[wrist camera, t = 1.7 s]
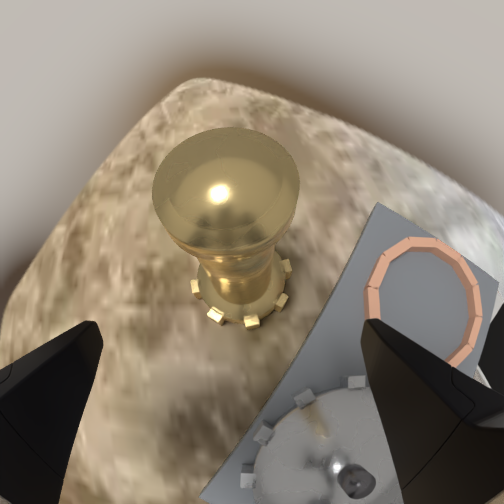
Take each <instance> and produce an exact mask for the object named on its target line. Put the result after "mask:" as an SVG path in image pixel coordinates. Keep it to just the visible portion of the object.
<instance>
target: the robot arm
mask: <svg viewBox="0 0 504 504" xmlns="http://www.w3.org/2000/svg"><path fill="white" fill-rule="evenodd" d="M360 344H361V349H362V354H363V358H364V363H365V368H366V372H367V377H368V382H369V385H370V388H371V391H372V395H373V398H374V401H375V404H376V407H377V410H378V413H379V416H380V419H381V423H382V426H383V429H384V432H385V436H386V439H387V442H388V446H389V449H390V453H391V456H392V460H393V463H394V467H395V471H396V474H397V478H398V482H399V486H400V490H401V494H402V498H403V502H404V504H504V395H502V394H500V393H498V392H497V391H495V390H493V389H491V388H489V387H487V386H485V385H483V384H481V383H480V382H478V381H476V380H474V379H472V378H471V377H469V376H468V375H466V374H464V373H463V372H461V371H459V370H458V369H456V368H455V367H452V366H451V365H450V364H449V363H447V362H445V361H444V360H442V359H441V358H439V357H438V356H436V355H435V354H433V353H431V352H430V351H428V350H427V349H425V348H424V347H422V346H421V345H419V344H417V343H416V342H414V341H413V340H411V339H410V338H408V337H406V336H405V335H403V334H402V333H400V332H399V331H397V330H395V329H394V328H392V327H391V326H389V325H388V324H386V323H384V322H383V321H381V320H380V319H378V318H371V319H366V320H365V322H364V325H363V330H362V334H361V339H360ZM102 349H103V338H102V336H101V333H100V330H99V327H98V325H97V323H96V322H95V321H87V320H86V321H83V322H82V323H80V324H78V325H76V326H75V327H73V328H71V329H69V330H68V331H66V332H64V333H62V334H61V335H59V336H57V337H55V338H54V339H52V340H50V341H49V342H47V343H45V344H43V345H42V346H40V347H38V348H37V349H35V350H33V351H31V352H30V353H28V354H26V355H25V356H23V357H21V358H20V359H18V360H16V361H14V362H13V363H11V364H9V365H8V366H6V367H4V368H3V369H1V370H0V504H58V503H59V499H60V494H61V490H62V486H63V481H64V480H63V479H64V477H65V473H66V469H67V465H68V461H69V458H70V454H71V451H72V447H73V444H74V440H75V437H76V434H77V430H78V427H79V424H80V421H81V418H82V415H83V412H84V409H85V406H86V403H87V400H88V397H89V394H90V391H91V388H92V386H93V382H94V379H95V376H96V372H97V368H98V364H99V360H100V356H101V352H102Z"/></svg>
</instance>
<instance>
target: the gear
mask: <svg viewBox="0 0 504 504" xmlns="http://www.w3.org/2000/svg"><path fill="white" fill-rule="evenodd" d="M290 396H291V398H292V399H293V401H294V403H295V405H294V406H292V407H291V408H290V409H288V410H287V411H286V412H285V413H283V414H282V415H281V416H280V417H279V418H278V419H277V420H276V421H275V422H274V423H273V425H271V424H270V423H268V422H266V421H264V420H262V421H261V423H260V424H259V425H258V427H257V428H256V430H255V431H254V433H253V440H254V441H256V442H258V443H260V445H259V448H258V450H257V453H256V457H255V460H254V464H242V469H241V481H240V488H251V489H253V495H254V499H255V503H254V504H404V502H403V498H402V494H401V490H400V486H399V482H398V478H397V474H396V471H395V467H394V463H393V460H392V456H391V453H390V449H389V446H388V442H387V439H386V436H385V432H384V429H383V426H382V423H381V419H380V416H379V413H378V410H377V407H376V404H375V401H374V398H373V395H372V391H371V388H370V387H365V375H351V376H340V387H336V388H332V389H327V390H324V391H321V392H318V393H316V394H313V393H312V391H311V389H310V388H307V387H304V388H302V389H300V390H298V391H296V392H295V393H293V394H291V395H290Z"/></svg>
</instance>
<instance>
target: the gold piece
mask: <svg viewBox="0 0 504 504" xmlns="http://www.w3.org/2000/svg"><path fill="white" fill-rule="evenodd" d="M299 189H300V180H299V173H298V170H297V167H296V164H295V162H294V160H293V158H292V157H291V155H290V154H289V153H288V151H287V150H286V149H285V148H284V147H283V146H282V145H281V144H279V143H278V142H277V141H275V140H274V139H272V138H271V137H269V136H267V135H265V134H263V133H260V132H257V131H254V130H250V129H244V128H233V127H228V128H218V129H212V130H208V131H204V132H202V133H199V134H196V135H194V136H192V137H190V138H188V139H186V140H185V141H183V142H182V143H180V144H179V145H178V146H176V147H175V148H174V149H173V150H172V151H171V152H170V153H169V154H168V155H167V156H166V157H165V159H164V160H163V161H162V163H161V164H160V166H159V168H158V170H157V172H156V175H155V178H154V181H153V187H152V199H153V205H154V208H155V211H156V213H157V215H158V217H159V219H160V221H161V223H162V224H163V226H164V228H165V229H166V231H167V232H168V234H169V236H170V237H171V238H172V240H173V241H174V242H175V243H176V244H177V245H178V246H179V247H180V248H182V249H183V250H184V251H186V252H187V253H189V254H191V255H193V256H195V257H197V258H198V260H199V262H200V265H199V269H198V274H197V279H196V280H191V286H192V292H193V294H194V295H195V296H196V298H197V299H201V298H203V300H204V301H205V303H206V304H207V305H208V306H209V308H210V309H211V310H210V311H209V313H208V314H207V315H208V316H209V317H210V318H211V319H212V320H213V321H215V322H216V323H218V324H219V325H221V326H222V325H223V323H224V322H225V320H226V321H228V322H232V323H237V324H245V325H246V329H247V330H250V329H255V328H259V320H261V319H263V318H264V317H266V316H267V315H269V314H270V313H271V312H272V311H273V310H274V309H275V310H276V311H278V312H281V310H282V309H283V307H284V305H285V304H286V302H287V299H288V297H289V296H287V295H286V294H284V293H283V290H284V286H285V279H289V278H290V276H291V273H292V268H291V265H290V262H289V259H285V260H281V258H280V256H279V254H278V253H277V252H276V250H275V244H276V243H277V242H278V241H279V240H280V239H281V238H282V237H283V235H284V234H285V233H286V231H287V230H288V228H289V226H290V224H291V222H292V220H293V217H294V214H295V209H296V204H297V199H298V194H299Z"/></svg>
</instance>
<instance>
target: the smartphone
mask: <svg viewBox="0 0 504 504" xmlns="http://www.w3.org/2000/svg"><path fill="white" fill-rule="evenodd" d="M476 373H477V374H478V376H479V378H480V379H481V381H482V383H483V385H485V386H487V387H489V388H491V389H493V390H495V391H497V392H498V393H500V394H502V395H504V300H503V298H502V296H501V295H500V293H499V291H498V290H497V295H496V300H495V305H494V309H493V313H492V318H491V322H490V325H489V329H488V333H487V336H486V340H485V343H484V347H483V350H482V353H481V356H480V359H479V362H478V365H477V368H476Z"/></svg>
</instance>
